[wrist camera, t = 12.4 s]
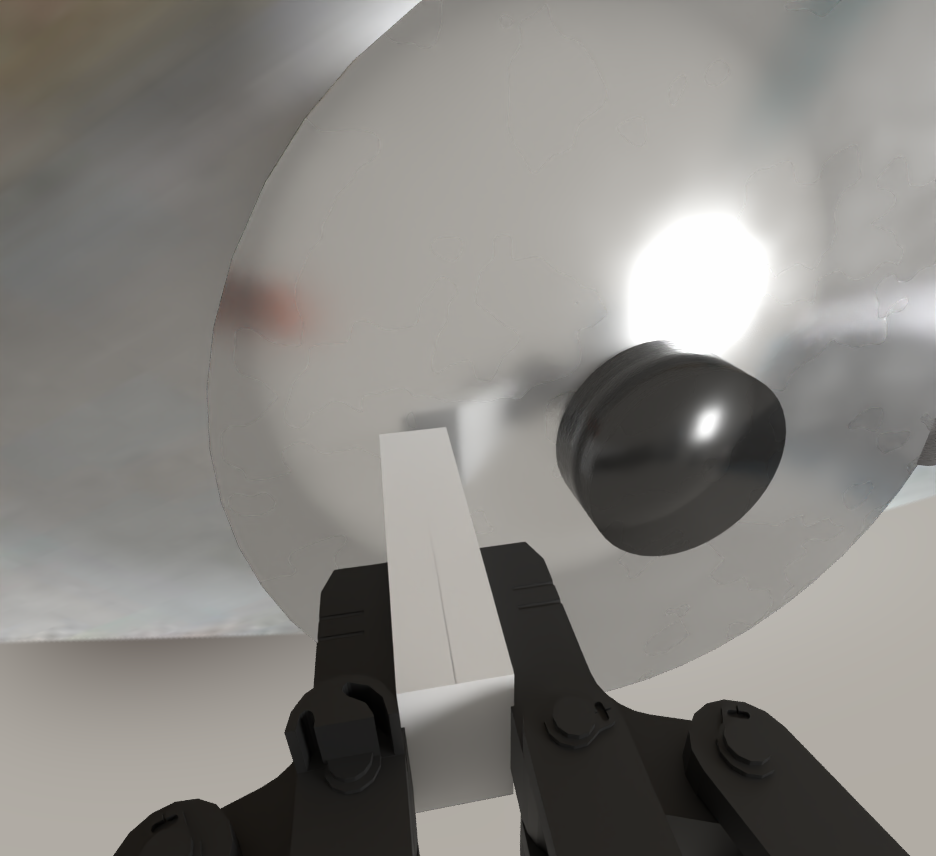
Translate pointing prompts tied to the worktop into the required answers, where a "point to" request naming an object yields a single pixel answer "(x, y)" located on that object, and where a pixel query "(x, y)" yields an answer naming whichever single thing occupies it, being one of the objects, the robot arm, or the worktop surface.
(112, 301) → the worktop surface
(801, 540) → the lid
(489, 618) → the robot arm
